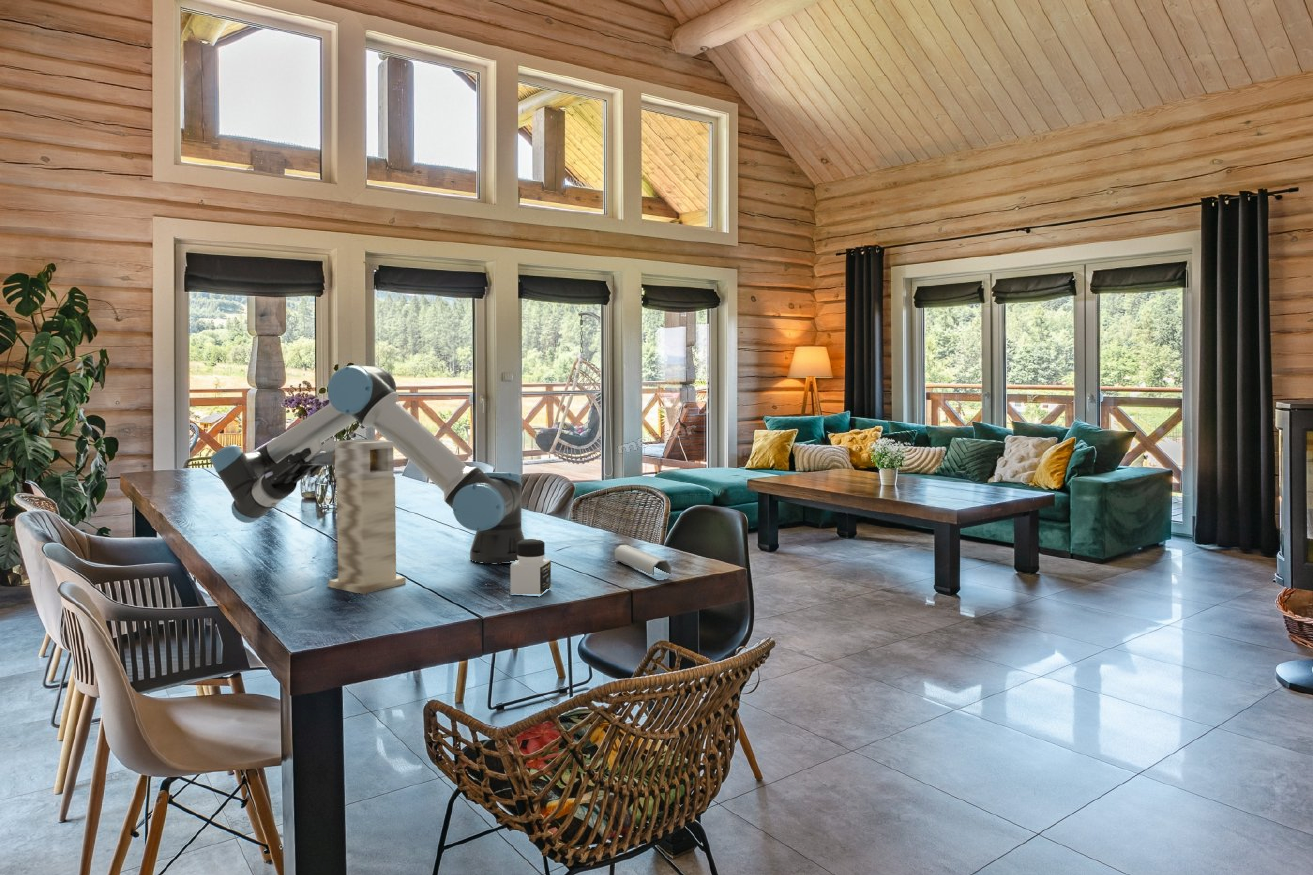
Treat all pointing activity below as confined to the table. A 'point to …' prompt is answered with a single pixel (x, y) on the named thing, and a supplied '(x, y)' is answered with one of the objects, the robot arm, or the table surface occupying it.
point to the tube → (641, 559)
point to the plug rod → (329, 458)
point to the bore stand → (365, 517)
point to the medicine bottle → (530, 568)
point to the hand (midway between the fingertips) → (326, 443)
